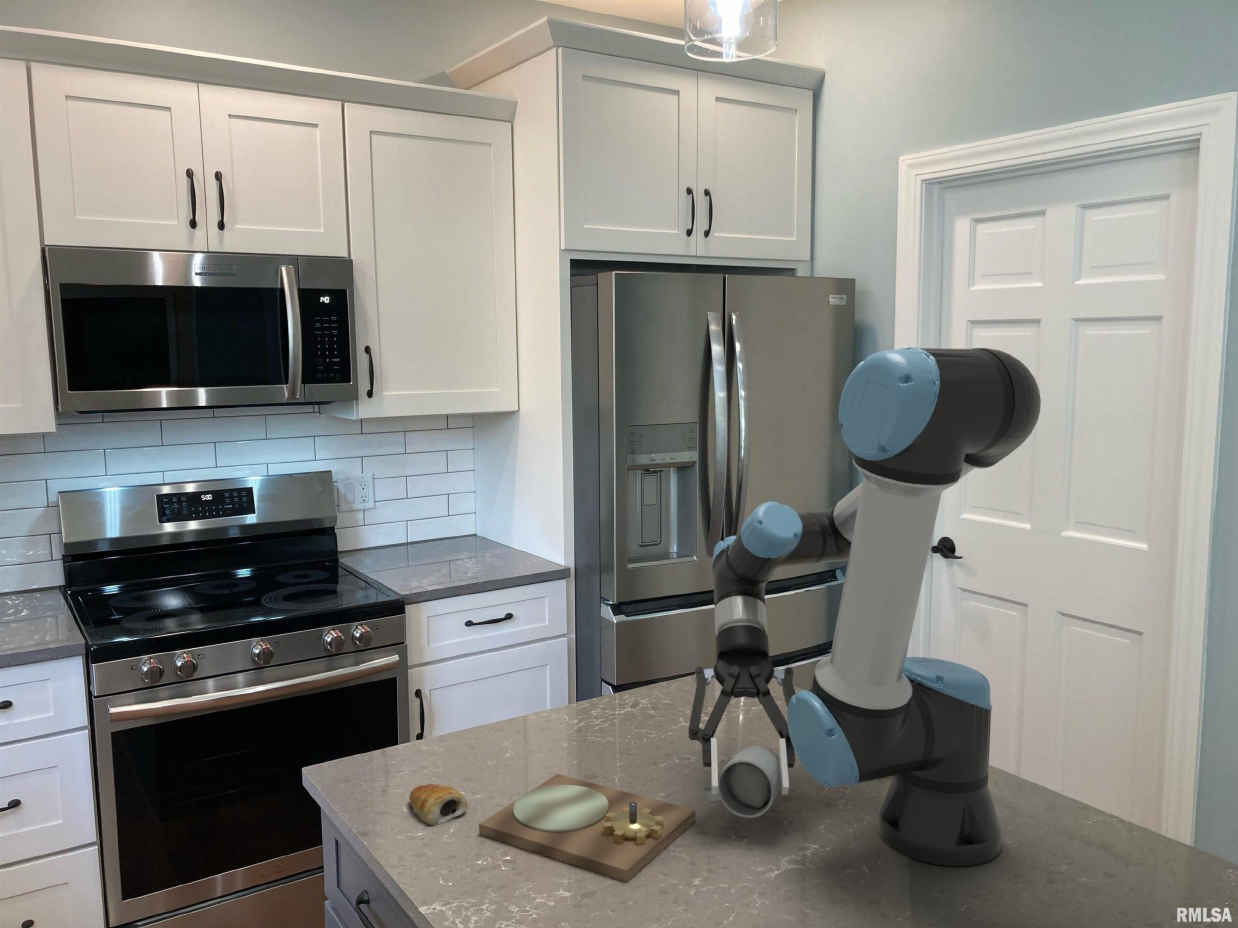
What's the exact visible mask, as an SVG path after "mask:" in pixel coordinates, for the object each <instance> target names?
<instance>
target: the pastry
mask: <svg viewBox="0 0 1238 928" xmlns="http://www.w3.org/2000/svg"><path fill="white" fill-rule="evenodd" d="M408 799H409V801H410V805H411V807H412V809H413V813H414V814H415V815H416V816H417V817H419V818H420V819H421V821H423V822H424V823H425V824H427V825H430V826H436V825H441V824H445V823H447V822H448V821H451V820H452V819H454V818H455V819H456V818H458V817H460V816H462V815H463V814H464V813H465V811H466V810H467V808H468V801H467V799H466V798H465V795H463V794H462V793H461V792H459V791H458V790H456V789H455V788H453V786H451V785H441V784H439V783H434V784H431V783H430V784H426V785H425V784H422V785H418V786H416V787H414V788H413V789H412V791H410V794H409V797H408Z"/></svg>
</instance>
